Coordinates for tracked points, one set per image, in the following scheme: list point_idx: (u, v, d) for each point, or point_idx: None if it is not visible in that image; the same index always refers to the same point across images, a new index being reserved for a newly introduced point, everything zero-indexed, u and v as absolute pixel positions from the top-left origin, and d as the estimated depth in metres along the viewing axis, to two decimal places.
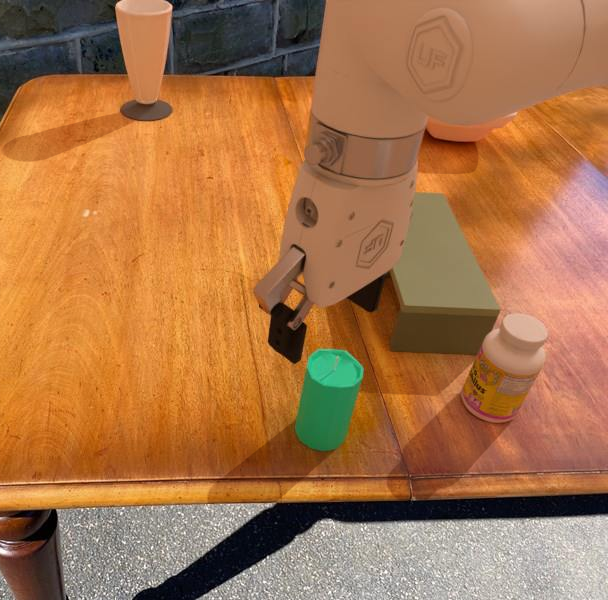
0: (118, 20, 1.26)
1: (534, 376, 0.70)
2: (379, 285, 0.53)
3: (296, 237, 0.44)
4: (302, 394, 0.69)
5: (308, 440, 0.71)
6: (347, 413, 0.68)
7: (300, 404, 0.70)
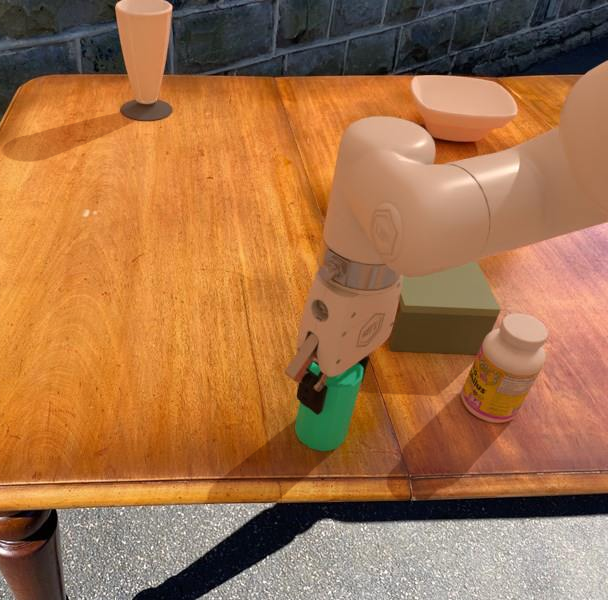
0: (118, 20, 1.26)
1: (534, 376, 0.70)
2: (364, 364, 0.68)
3: (311, 326, 0.59)
4: None
5: (308, 440, 0.71)
6: (347, 413, 0.68)
7: (300, 404, 0.70)
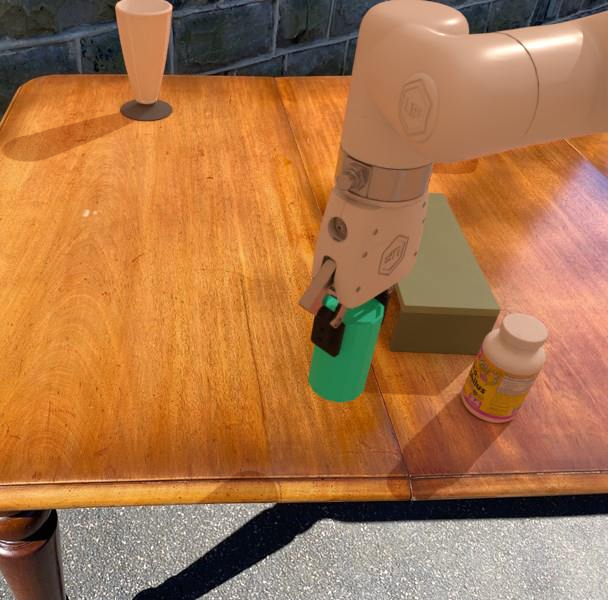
0: (118, 20, 1.26)
1: (534, 376, 0.70)
2: (384, 303, 0.62)
3: (328, 250, 0.53)
4: None
5: (323, 390, 0.65)
6: (366, 357, 0.62)
7: (314, 350, 0.64)
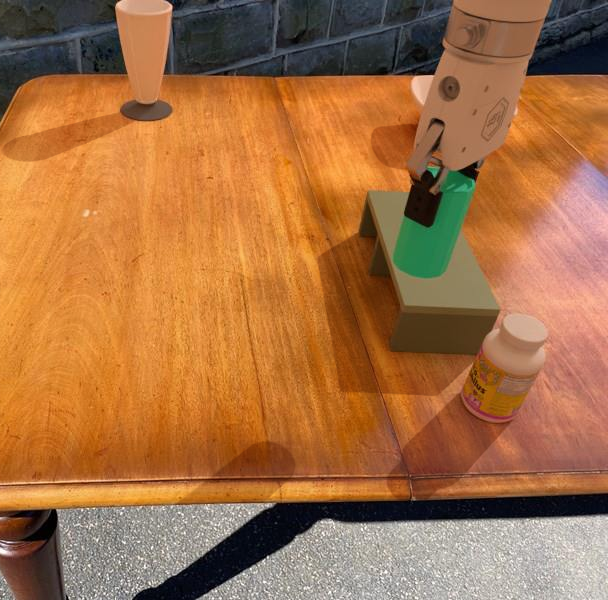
0: (118, 20, 1.26)
1: (534, 376, 0.70)
2: (473, 179, 0.65)
3: (436, 111, 0.56)
4: None
5: (410, 267, 0.68)
6: (456, 230, 0.65)
7: (403, 227, 0.68)
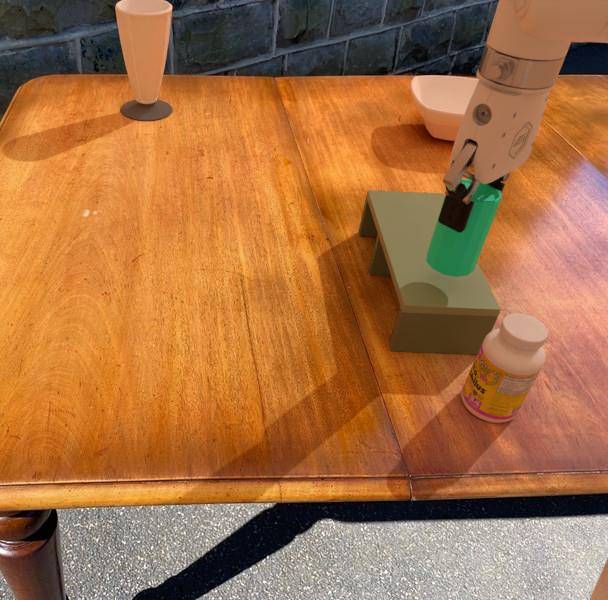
0: (118, 20, 1.26)
1: (534, 376, 0.70)
2: None
3: (470, 133, 0.66)
4: None
5: (443, 266, 0.78)
6: (484, 234, 0.75)
7: (437, 232, 0.77)
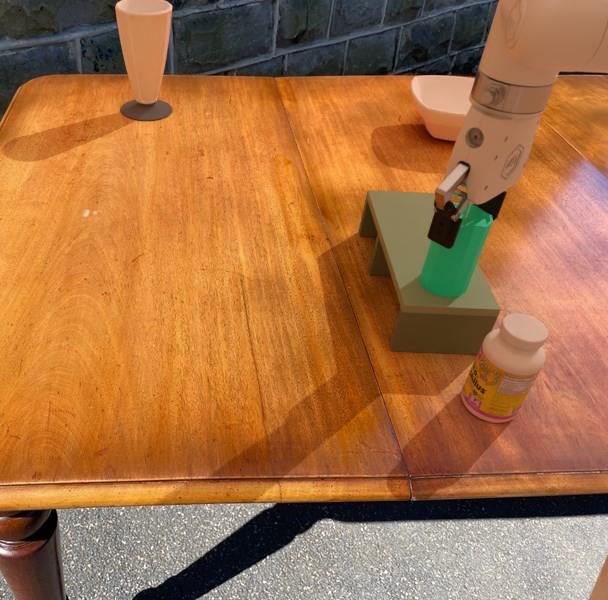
0: (118, 20, 1.26)
1: (534, 376, 0.70)
2: (502, 199, 0.76)
3: (463, 156, 0.67)
4: (433, 243, 0.78)
5: (436, 287, 0.80)
6: (475, 257, 0.77)
7: (430, 254, 0.79)
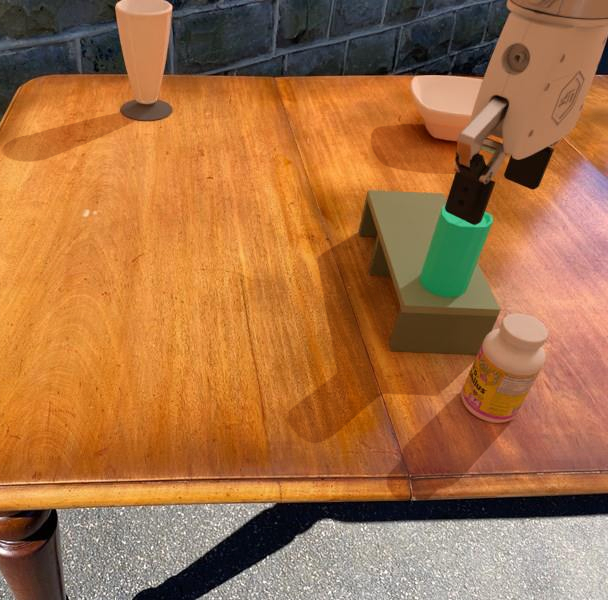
0: (118, 20, 1.26)
1: (534, 376, 0.70)
2: (547, 158, 0.56)
3: (498, 87, 0.47)
4: (433, 243, 0.78)
5: (436, 287, 0.80)
6: (475, 257, 0.77)
7: (430, 254, 0.79)
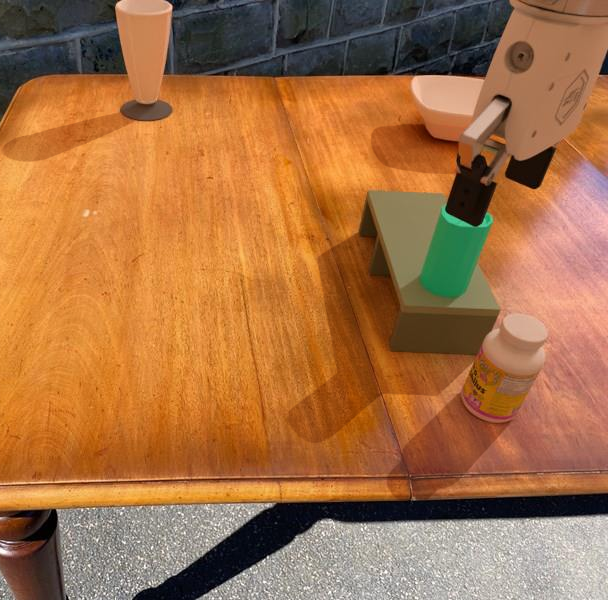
0: (118, 20, 1.26)
1: (534, 376, 0.70)
2: (549, 158, 0.55)
3: (501, 86, 0.46)
4: (433, 243, 0.78)
5: (436, 287, 0.80)
6: (475, 257, 0.77)
7: (430, 254, 0.79)
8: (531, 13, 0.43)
